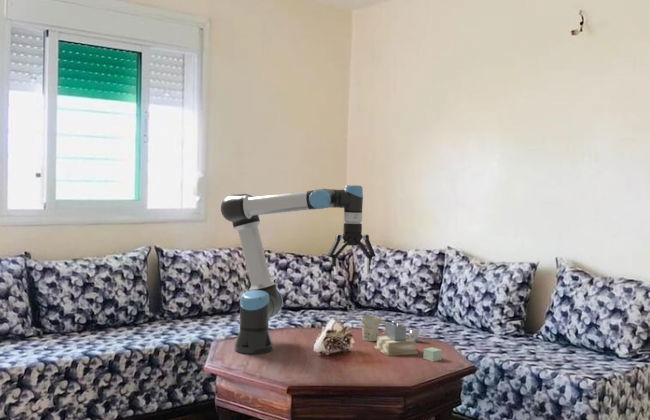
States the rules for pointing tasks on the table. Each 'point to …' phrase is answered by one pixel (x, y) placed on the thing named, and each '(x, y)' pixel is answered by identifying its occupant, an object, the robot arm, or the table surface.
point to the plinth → (395, 346)
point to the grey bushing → (413, 334)
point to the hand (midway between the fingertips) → (351, 274)
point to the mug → (371, 327)
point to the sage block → (432, 354)
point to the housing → (396, 331)
